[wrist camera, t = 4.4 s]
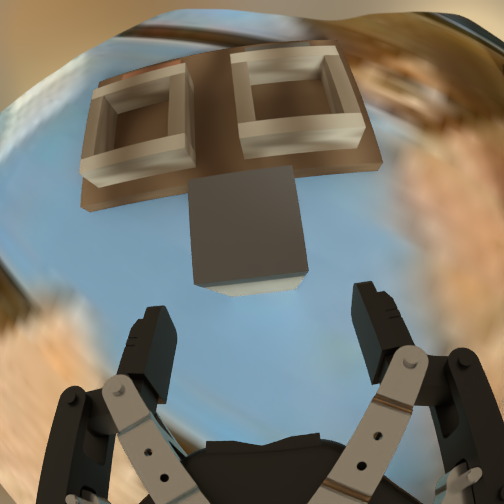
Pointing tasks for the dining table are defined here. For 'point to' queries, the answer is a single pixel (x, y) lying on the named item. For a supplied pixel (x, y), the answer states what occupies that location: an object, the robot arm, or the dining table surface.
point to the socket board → (224, 121)
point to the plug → (247, 232)
